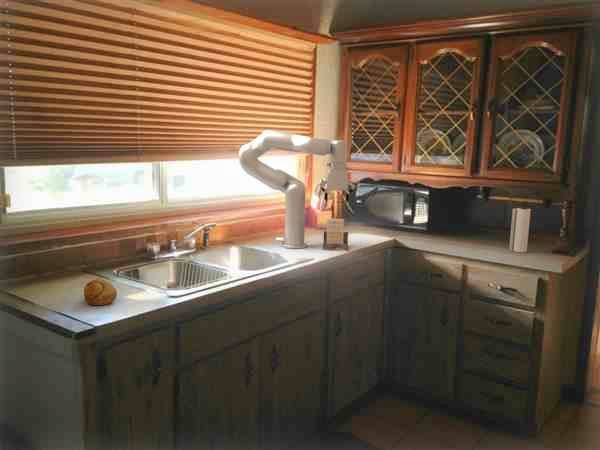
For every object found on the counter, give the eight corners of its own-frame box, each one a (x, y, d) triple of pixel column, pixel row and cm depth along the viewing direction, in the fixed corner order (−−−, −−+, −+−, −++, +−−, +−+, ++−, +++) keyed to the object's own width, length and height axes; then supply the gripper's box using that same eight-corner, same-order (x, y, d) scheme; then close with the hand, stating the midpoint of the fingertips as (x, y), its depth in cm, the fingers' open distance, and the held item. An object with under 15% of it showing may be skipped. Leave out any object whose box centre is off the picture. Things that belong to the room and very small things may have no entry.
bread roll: (82, 297, 176) (81, 273, 175) (113, 294, 181) (112, 271, 179) (85, 309, 165) (84, 284, 164) (118, 305, 169) (117, 281, 168)
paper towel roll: (528, 251, 264) (532, 208, 261) (523, 253, 260) (527, 209, 256) (514, 249, 269) (518, 207, 266) (508, 251, 265) (512, 208, 261)
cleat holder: (322, 249, 257) (323, 235, 256) (323, 244, 269) (323, 231, 267) (347, 250, 256) (348, 236, 255) (347, 245, 268) (348, 232, 267)
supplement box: (343, 244, 265) (344, 218, 263) (343, 246, 260) (344, 220, 258) (326, 244, 266) (327, 218, 263) (326, 246, 261) (327, 219, 259)
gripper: (319, 166, 253) (318, 202, 256) (356, 167, 252) (354, 203, 255) (320, 165, 261) (318, 200, 264) (356, 166, 260) (354, 201, 263)
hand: (336, 201), depth 259 cm, fingers open, 9 cm apart
